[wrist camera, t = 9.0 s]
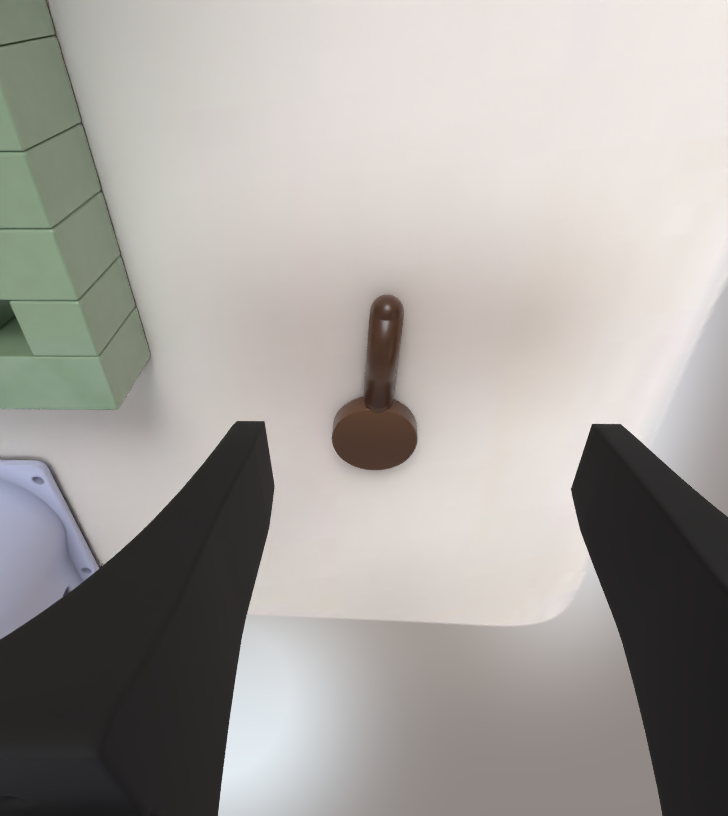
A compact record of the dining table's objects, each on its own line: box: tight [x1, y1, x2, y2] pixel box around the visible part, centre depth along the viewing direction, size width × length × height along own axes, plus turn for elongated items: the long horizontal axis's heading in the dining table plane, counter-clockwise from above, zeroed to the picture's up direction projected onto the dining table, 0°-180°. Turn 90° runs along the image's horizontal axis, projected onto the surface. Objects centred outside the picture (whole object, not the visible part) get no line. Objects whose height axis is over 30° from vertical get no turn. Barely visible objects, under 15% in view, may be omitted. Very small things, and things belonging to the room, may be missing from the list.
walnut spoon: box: [332, 295, 417, 470], centre depth 22 cm, size 1×4×8 cm
